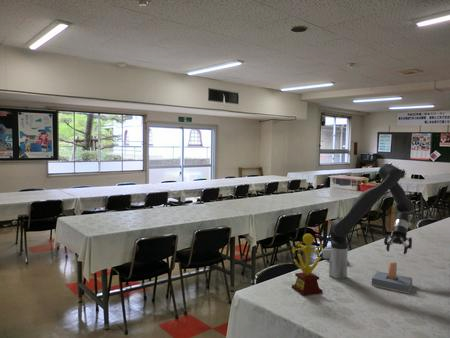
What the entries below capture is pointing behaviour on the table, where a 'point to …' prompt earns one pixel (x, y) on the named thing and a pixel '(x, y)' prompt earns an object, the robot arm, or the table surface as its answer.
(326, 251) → the hinge
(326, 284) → the table surface
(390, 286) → the socket block
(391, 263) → the peg
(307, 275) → the trophy
